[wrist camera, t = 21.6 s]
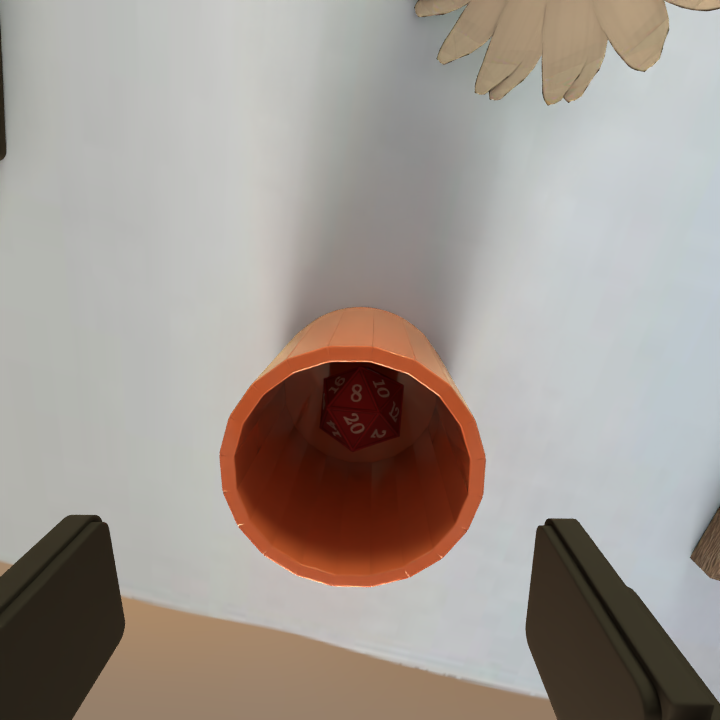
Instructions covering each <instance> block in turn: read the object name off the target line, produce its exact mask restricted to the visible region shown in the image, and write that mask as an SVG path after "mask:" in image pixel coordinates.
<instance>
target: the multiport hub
mask: <svg viewBox="0 0 720 720" xmlns="http://www.w3.org/2000/svg"><path fill="white" fill-rule="evenodd" d="M5 155H6V143H5V120H4V98H3V75H2V53H1V30H0V161H1V160H2V159H4V157H5Z"/></svg>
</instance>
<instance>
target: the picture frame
mask: <svg viewBox="0 0 720 720" xmlns="http://www.w3.org/2000/svg"><path fill="white" fill-rule="evenodd" d="M690 558H691V559H692V560H693V561H694V562H695V563H696V564H697V565H698V566H699V567H700V568H701V569H702V570H703V571H704V572H705V573H706V574H707V575H708V576H709V577H710V578H712V579H715V580H719V581H720V507H719V509H718V510H717V512H716V514H715V515H714V517H713V519H712V521H711V522H710V524H709V526H708V527H707V529H706V531H705V533H704V534H703V536H702V538H701V540H700V541H699V543H698V545H697V546H696V548H695V550H694V552H693V553H692V555H691V557H690Z"/></svg>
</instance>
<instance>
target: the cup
mask: <svg viewBox="0 0 720 720" xmlns="http://www.w3.org/2000/svg"><path fill="white" fill-rule="evenodd" d="M358 366H369V367H370V368H372V369H374V370H376V371H378V372H380V373H382V374H384V375H386V376H388V377H389V378H391V379H393V380H395V381H397V382H399V383H401V384H403V385H404V391H403V403H402V415H401V428H400V437H396V438H393V439H390V440H387V441H384V442H381V443H378V444H375V445H372V446H369V447H366V448H363V449H360V450H357V451H355V452H351V451H350V450H349V449H347V448H346V447H345V446H343V445H342V444H341V443H339V442H338V441H337V440H335V439H334V438H332V437H331V436H330V435H328V434H327V433H326V432H324V431H323V430H321V429H320V428H319V426H320V417H321V405H322V394H323V383H324V378H326V377H329V376H332V375H335V374H338V373H341V372H344V371H347V370H350V369H352V368H355V367H358ZM219 456H220V467H221V479H222V490H223V494H224V496H225V498H226V500H227V503H228V505H229V507H230V510H231V512H232V514H233V516H234V519H235V521H236V523H237V525H239V528H240V529H241V530H242V531H243V533H244V534H245V535H246V536H247V537H248V538H249V539H250V540H251V542H252V543H253V544H254V545H255V546H256V547H257V548H258V550H259V551H260V552H261V553H262V554H264V556H266V557H268V558H269V559H271V560H272V561H274V562H276V563H277V564H279V565H280V566H282V567H284V568H285V569H287V570H288V571H290V572H291V573H293V574H296V575H297V576H300V577H303V578H307V579H310V580H313V581H317V582H320V583H324V584H327V585H330V586H344V587H371V586H372V587H374V586H378V585H382V584H386V583H390V582H394V581H398V580H402V579H406V578H408V577H411V576H413V575H415V574H416V573H418V572H420V571H422V570H423V569H425V568H427V567H429V566H430V565H432V564H434V563H435V562H437V561H439V560H441V558H443V557H444V556H445V555H446V554H447V553H448V552H449V551H450V549H451V548H452V547H453V546H454V545H455V544H456V543H457V542H458V541H459V540H460V539H461V537H462V536H463V535H464V534H465V533H466V532H467V530H468V529H469V527H470V524H471V522H472V520H473V518H474V515H475V513H476V511H477V509H478V506H479V504H480V502H481V499H482V496H483V492H484V478H485V464H486V458H485V452H484V449H483V445H482V442H481V438H480V435H479V431H478V427H477V424H476V421H475V419H474V417H473V415H472V413H471V411H470V410H469V408H468V406H467V404H466V402H465V401H464V399H463V397H462V395H461V394H460V392H459V390H458V388H457V387H456V385H455V383H454V381H453V380H452V378H451V376H450V374H449V372H448V371H447V369H446V367H445V365H444V364H443V362H442V360H441V358H440V357H439V355H438V353H437V352H436V351H435V349H434V348H433V346H432V345H431V343H430V342H429V340H428V339H427V338H426V336H425V335H424V334H423V333H422V332H421V331H420V330H418V329H417V328H416V327H415V326H414V325H413V324H411V323H410V322H408V321H407V320H405V319H404V318H402V317H400V316H398V315H396V314H394V313H391V312H388V311H385V310H381V309H376V308H370V307H351V308H345V309H339V310H336V311H333V312H330V313H327V314H325V315H323V316H321V317H319V318H317V319H316V320H314V321H313V322H311V323H310V324H308V325H307V326H306V327H305V328H304V329H302V330H301V331H300V332H298V333H297V334H296V335H295V337H294V338H293V339H292V340H291V341H290V342H289V343H288V344H287V345H286V347H285V348H284V349H283V350H282V351H281V352H280V353H279V354H278V355H277V357H276V358H275V359H274V360H273V361H272V362H271V363H270V364H269V365H268V367H267V368H266V369H265V370H264V371H263V372H262V373H261V374H260V376H259V377H258V378H257V379H256V380H255V381H254V382H253V383H252V384H251V386H250V387H249V389H248V390H247V391H246V393H245V394H244V396H243V397H242V399H241V400H240V402H239V403H238V404H237V406H236V407H235V409H234V410H233V412H232V413H231V415H230V417H229V419H228V423H227V426H226V430H225V434H224V438H223V441H222V445H221V449H220V455H219Z"/></svg>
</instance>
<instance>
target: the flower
mask: <svg viewBox="0 0 720 720" xmlns="http://www.w3.org/2000/svg"><path fill="white" fill-rule="evenodd" d="M664 1H666V2H668V3H671V4H673V5H676V6H679V7H681V8H685V9H690V10H698V11H711V10H716V9H720V0H418V2H417V3H416V5H415V7H414V8H415V10H416V11H415V12H416V14H417V16H418V17H426V16H432V15H444V14H446V13H449V12H451V11H454V10H457V9H459V8H461V7H462V6H464V5H466V4H468V3H469V4H468V5H467V7H466V8H465V10H464V11H463V13H462V14H461V16H460V17H459V19H458V20H457V22H456V24H455V26H454V27H453V29H452V30H451V32H450V33H449V35H448V36H447V38H446V39H445V41H444V43H443V45H442V46H441V48H440V50H439V53H438V56H437V60H439V62H440V63H442V64H447V63H449V62H451V61H453V60H456V59H458V58H461V57H463V56H466V55H469V54H470V53H472V52H473V51H475V50H476V49H478V48H479V47H481V46H482V45H483V44H484V43H485V42H487V41H488V40H489V39H490V38H491V37H492V38H491V41H490V44H489V46H488V49H487V52H486V54H485V57H484V60H483V63H482V66H481V68H480V71H479V73H478V76H477V79H476V83H475V93H478V94H479V95H482V94H486V93H487V92H489V98H490V100H491V99H493V100H500V99H501V98H503V97H504V96H505V95H506V94H507V93H508V92H509V91H510V90H511V89H513V88H514V87H515V86H517V85H518V84H519V83H521V82H522V81H523V80H524V79H525V78H526V77H527V76H528V74H529V73H530V72H531V71H532V70H533V69H534V67H535V65H536V64H537V62H538V60H539V59H540V57H541V55H542V93H543V98H544V100H545V102H546V104H547V105H550V104H555V103H557V102H559V101H561V99H562V98H564V99H565V100H566V101H567V102H568V103H569V102H570V101H572V100H574V101H575V100H576V99H578V98H579V97H581V96H582V95H583V93H584V91H585V90H586V88H587V87H588V85H589V83H590V81H591V80H592V79H593V77H594V76H595V75H596V73H597V72H598V71H599V69H600V67H601V64H602V62H603V59H604V57H605V52H606V46H607V41H608V40H609V41H610V43H611V45H612V46H613V48H614V49H615V51H616V52H617V54H618V55H619V56H620V57H621V58H622V59H623V60H624V62H625V63H626V64H627V65H628V66H629V67H630V68H632V69H634V70H637V71H643V72H645V71H646V70H647V69H648V68H649V67H652V66H653V65H654V64H655V63H656V62H657V61H658V60H659V59H660V56H661V52H662V49H663V45H664V41H665V39H666V36H667V34H668V31H669V18H668V14H667V10H666V6H665V2H664Z"/></svg>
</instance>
